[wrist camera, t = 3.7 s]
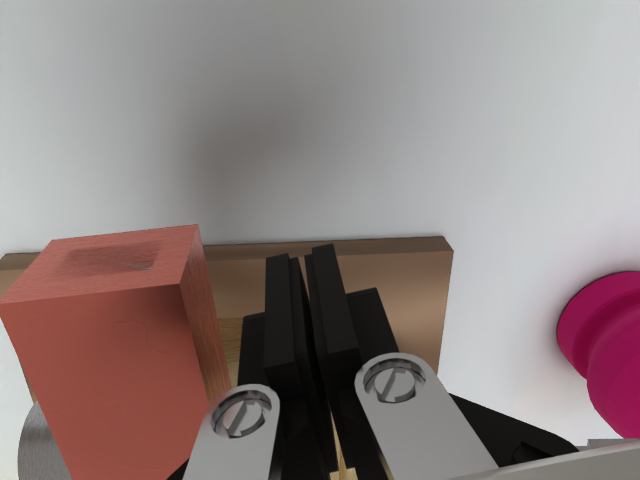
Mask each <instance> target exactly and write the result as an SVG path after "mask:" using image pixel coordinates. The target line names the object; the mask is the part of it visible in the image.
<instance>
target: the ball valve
mask: <svg viewBox="0 0 640 480" xmlns="http://www.w3.org/2000/svg"><path fill="white" fill-rule="evenodd" d="M242 322H243V317H236V318H218V323H219V328H220V332H221V337H222V342H223V347H224V352H225V356H226V361H227V366H228V371H229V376H230V380H231V385H232V389H233V388H235V387H237V381H238V369H239V357H240V346H241V334H242ZM331 416H332V413H331ZM332 423H333V430H334V437H335V444H336V451H337V458H338V465H339V471H337V472H332V473H330V478H331V480H358V479H357V475H356V471H355V468H350V469H346V466H345V462H344V458H343V454H342V451H341V447H340V443H339V439H338V436H337V432H336V428H335V424H334V420H333V417H332ZM18 476H19V480H72V477H71V475H70V473H69V471H68V468H67V466H66V464H65V462H64V459H63V457H62V455H61V452H60V450H59V448H58V446H57V443H56V441H55V439H54V437H53V434H52V432H51V430H50V428H49V425H48V423H47V421H46V419H45V416H44V414H43V412H42V410H41V407H40V405H39V403H38V401H36V403H35V404H34V405H33V407H32V408H31V410H30V412H29V414H28V416H27V418H26V420H25V423H24V426H23V429H22V433H21V437H20V442H19V449H18Z"/></svg>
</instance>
